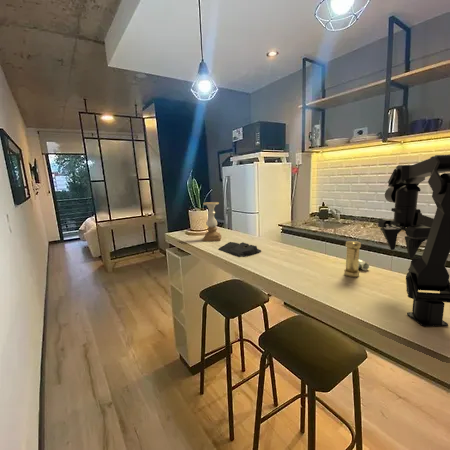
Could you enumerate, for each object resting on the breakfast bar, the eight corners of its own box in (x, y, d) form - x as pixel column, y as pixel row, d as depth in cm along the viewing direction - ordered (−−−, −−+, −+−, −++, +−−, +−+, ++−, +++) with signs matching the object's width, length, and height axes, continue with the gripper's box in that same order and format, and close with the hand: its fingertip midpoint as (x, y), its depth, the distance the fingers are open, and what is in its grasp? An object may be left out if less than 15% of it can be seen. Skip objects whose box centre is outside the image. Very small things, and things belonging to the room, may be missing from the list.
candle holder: (220, 241, 166) (218, 203, 162) (202, 241, 167) (201, 203, 163) (221, 237, 177) (220, 201, 173) (205, 237, 178) (203, 202, 174)
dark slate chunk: (237, 245, 156) (237, 237, 155) (264, 253, 139) (264, 244, 138) (216, 250, 147) (215, 241, 146) (241, 259, 130) (241, 249, 129)
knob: (359, 277, 100) (361, 244, 98) (344, 276, 102) (346, 243, 100) (358, 273, 105) (360, 241, 103) (343, 272, 107) (345, 240, 105)
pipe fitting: (355, 273, 107) (369, 270, 109) (355, 264, 106) (369, 261, 108) (342, 267, 115) (355, 264, 116) (341, 258, 114) (355, 255, 115)
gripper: (457, 208, 74) (450, 261, 76) (410, 202, 92) (406, 245, 95) (417, 209, 74) (411, 262, 76) (378, 203, 92) (375, 246, 95)
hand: (401, 253), depth 86 cm, fingers open, 9 cm apart
